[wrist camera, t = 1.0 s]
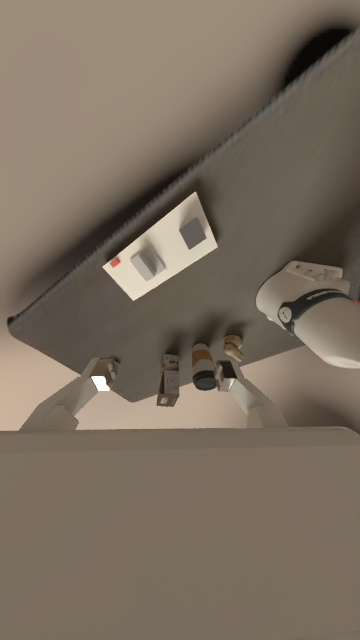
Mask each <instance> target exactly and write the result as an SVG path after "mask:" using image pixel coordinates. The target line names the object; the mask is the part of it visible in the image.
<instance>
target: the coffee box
mask: <svg viewBox="0 0 360 640" xmlns="http://www.w3.org/2000/svg"><path fill="white" fill-rule="evenodd" d="M178 397H179V356H176V355H169V354H164V358H163V361H162V365H161V371H160V380H159V389H158V398H157V406H167V407H168V406H171V407H173V406H174V405H175V403H176V401H177V399H178Z"/></svg>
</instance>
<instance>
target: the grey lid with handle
mask: <svg viewBox="0 0 360 640" xmlns="http://www.w3.org/2000/svg"><path fill="white" fill-rule="evenodd" d="M130 262H131V263H132V264H133V265H134V267H135V268H136V269H137V271H138V272H139V273H140V274H141V276H142V277H143V278H144V280H145V281H146V282H147V281H148V280H151V279H152V278H154V277H155V276H156V275H157V274H159V273H160V272H162V271H163V270H165V269H166V268H165V267H164V265H163V264H162V262H161V261H160V259H159V258H158V256H157V255H156V253H155V252H154V250H153V249H152V247H151V246H148V247H147V248H146V249H144V250H143V251H142V252H141V253H139V254H138V255H137V256H135V257H134V258H133V259H131V260H130Z"/></svg>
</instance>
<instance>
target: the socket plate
mask: <svg viewBox="0 0 360 640" xmlns="http://www.w3.org/2000/svg"><path fill="white" fill-rule="evenodd" d="M196 217H198V219H199V221H200V224H201V226H202V228H203V231H204V233H205V235H206V239H205V240H204V241H202V242H201V243H199V244H198V245H196V246H195V247H193V248H192V249H190V250H189V249H188V247H187V245H186V243H185V241H184V239H183V237H182V235H181V233H180V232H179V229H181V228H182V227H183V226H185V225H186V224H187V223H189V222H190V221H191V220H193V219H194V218H196ZM148 246H151V247H152V249H153V250H154V252H155V253H156V255H157V256H158V258H159V259H160V261H161V262H162V264H163V265H164V267H165V268H166V269H165V270H163V271H162V272H160V273H159V274H157V275H156V276H155V277H154V278H152V279H151V280H148V281H147V282H146V281H145V280H144V278H143V277H142V276H141V274H140V273H139V272H138V271H137V269H136V268H135V267H134V265H133V264H132V263H131V262H130V260H131V259H133V258H134V257H135V256H137V255H138V254H139V253H141V252H142V251H143V250H144V249H146V248H147V247H148ZM217 247H218V246H217V244H216V241H215V239H214V236H213V234H212V231H211V228H210V226H209V223H208V221H207V218H206V216H205V213H204V211H203V208H202V206H201V203H200V201H199V198H198V196H197V193H196V191H195V192H194V193H193V194H192V195H190V196H189V197H188V198H187V199H185V200H184V201H183V202H182V203H181V204H179V205H178V206H177V207H176V208H174V209H173V210H172V211H171V212H169V213H168V214H167V215H166V216H165V217H163V218H162V219H161V220H160V221H158V222H157V223H156V224H155V225H153V226H152V227H151V228H150V229H149V230H147V231H146V232H145V233H144V234H142V235H141V236H140V237H139V238H137V239H136V240H135V241H134V242H133V243H131V244H130V245H129V246H128V247H126V248H125V249H124V250H123V251H121V252H120V253H119V254H118V255H117V256H115V257H114V258H113V259H112V260H110V261H109V262H108V263H107V264H105V265H104V266H103V268H104V269H105V270H106V271H107V272H108V274H109V275H110V276H111V277H112V278H113V279H114V280H115V281H116V282H117V283H118V284H119V286H120V287H121V288H122V289H123V290H124V291H125V292H126V293H127V294H128V295H129V296H130V298H131V299H132V300H133V301H134V300H136V299H137V298H139V297H141V296H142V295H144V294H145V293H147V292H148V291H150V290H151V289H153V288H155V287H156V286H158V285H159V284H161V283H162V282H164V281H165V280H167V279H169V278H170V277H172V276H173V275H175V274H176V273H178V272H179V271H181V270H183V269H184V268H186V267H187V266H189V265H190V264H192V263H194V262H195V261H197V260H198V259H200V258H201V257H203V256H204V255H206V254H208V253H209V252H211V251H212V250H214V249H215V248H217Z"/></svg>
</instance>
